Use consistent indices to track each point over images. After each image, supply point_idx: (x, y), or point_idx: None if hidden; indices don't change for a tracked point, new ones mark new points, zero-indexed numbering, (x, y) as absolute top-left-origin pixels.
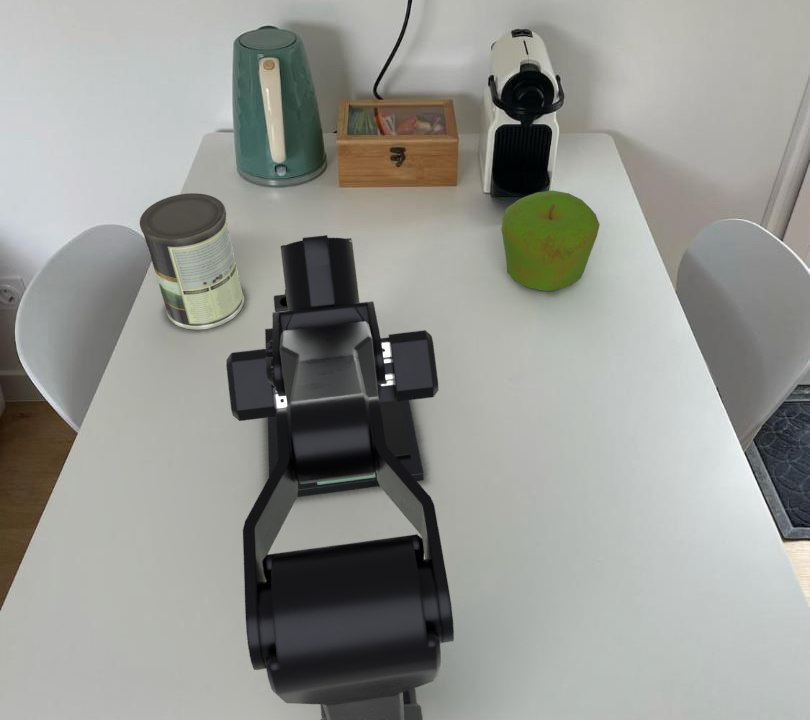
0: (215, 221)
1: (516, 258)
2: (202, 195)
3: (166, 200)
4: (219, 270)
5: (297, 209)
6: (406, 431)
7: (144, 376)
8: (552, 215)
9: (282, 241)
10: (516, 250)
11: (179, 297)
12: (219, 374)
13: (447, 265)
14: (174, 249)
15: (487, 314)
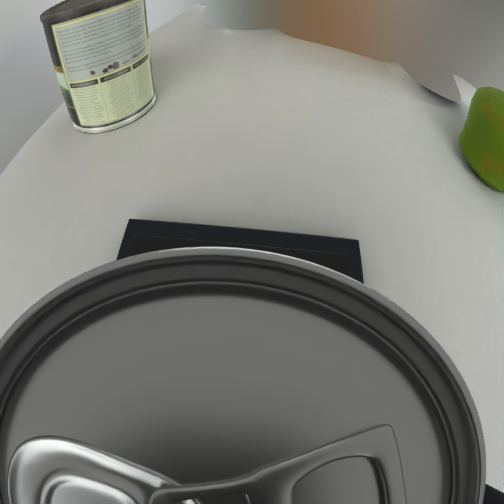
0: None
1: (492, 144)
2: None
3: None
4: (114, 56)
5: (244, 40)
6: None
7: (14, 189)
8: None
9: (221, 58)
10: (498, 136)
11: (67, 92)
12: (78, 201)
13: (397, 120)
14: (57, 27)
15: (450, 195)
